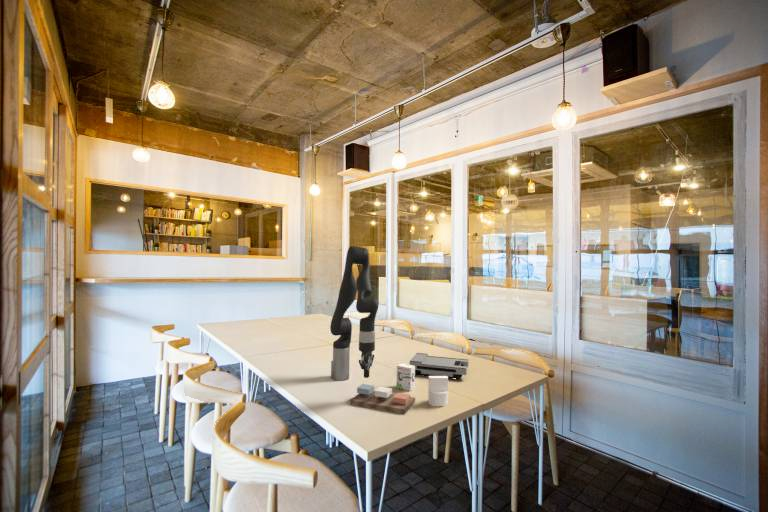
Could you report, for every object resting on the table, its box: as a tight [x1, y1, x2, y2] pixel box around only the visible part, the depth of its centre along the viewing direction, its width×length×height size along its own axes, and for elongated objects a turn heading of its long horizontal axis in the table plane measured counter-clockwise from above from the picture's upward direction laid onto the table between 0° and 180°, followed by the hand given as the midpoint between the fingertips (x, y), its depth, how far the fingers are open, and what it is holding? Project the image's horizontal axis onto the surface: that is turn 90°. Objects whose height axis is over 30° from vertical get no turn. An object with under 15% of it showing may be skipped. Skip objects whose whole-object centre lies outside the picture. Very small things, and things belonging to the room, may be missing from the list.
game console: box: [409, 352, 469, 380], centre depth 213 cm, size 21×32×8 cm, turn 73°
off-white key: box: [374, 386, 393, 398], centre depth 165 cm, size 6×6×2 cm
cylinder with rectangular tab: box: [427, 376, 449, 407], centre depth 167 cm, size 9×9×12 cm
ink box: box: [396, 362, 416, 392], centre depth 185 cm, size 9×5×12 cm, turn 58°
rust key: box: [393, 392, 411, 405], centre depth 162 cm, size 6×6×2 cm
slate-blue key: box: [356, 383, 375, 395], centre depth 169 cm, size 6×6×2 cm
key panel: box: [350, 390, 416, 415], centre depth 165 cm, size 26×15×4 cm, turn 68°
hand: (366, 377), depth 169 cm, fingers closed
